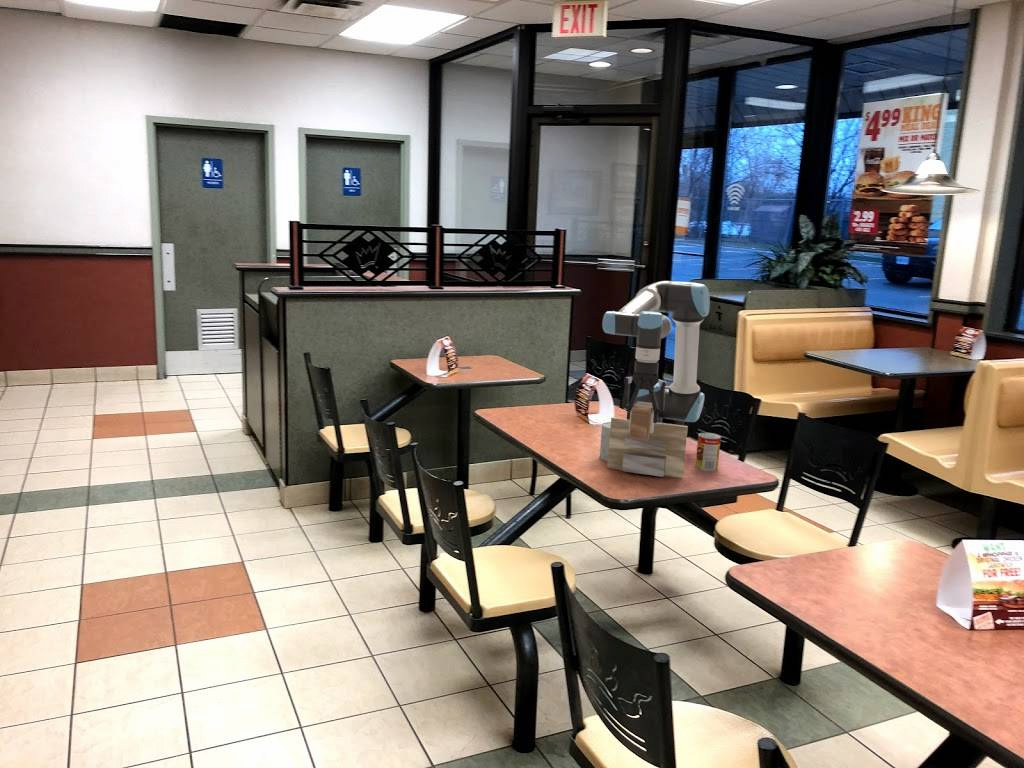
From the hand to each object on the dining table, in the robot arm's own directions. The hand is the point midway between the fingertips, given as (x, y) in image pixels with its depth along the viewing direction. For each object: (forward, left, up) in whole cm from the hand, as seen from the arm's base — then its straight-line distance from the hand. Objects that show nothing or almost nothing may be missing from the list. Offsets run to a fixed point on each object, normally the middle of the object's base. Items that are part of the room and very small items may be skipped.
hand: (641, 430), depth 268 cm
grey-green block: (-22, -23, -19) cm, 37 cm away
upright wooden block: (-1, -1, -2) cm, 2 cm away
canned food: (-37, +7, -19) cm, 43 cm away
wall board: (-14, -5, -19) cm, 24 cm away
